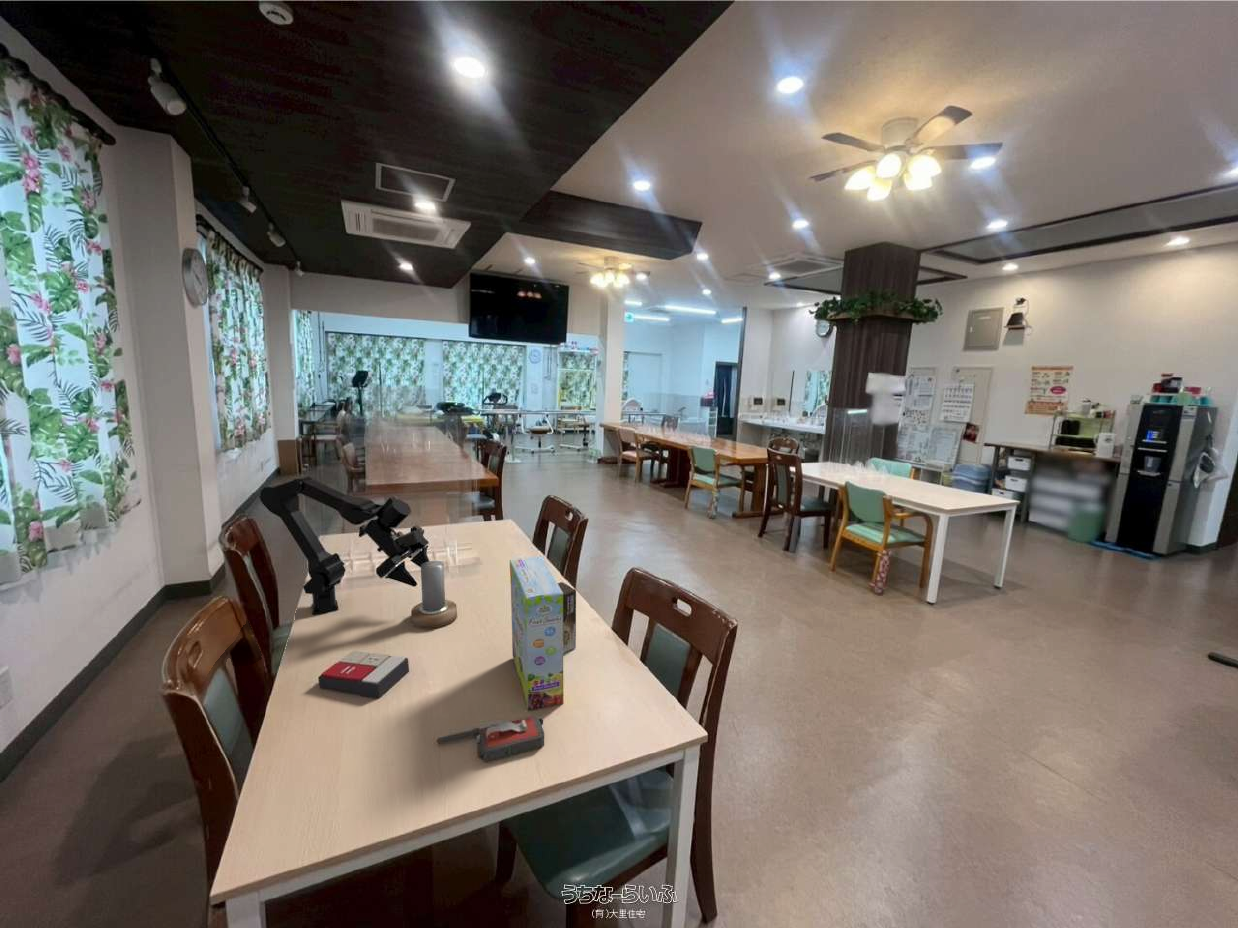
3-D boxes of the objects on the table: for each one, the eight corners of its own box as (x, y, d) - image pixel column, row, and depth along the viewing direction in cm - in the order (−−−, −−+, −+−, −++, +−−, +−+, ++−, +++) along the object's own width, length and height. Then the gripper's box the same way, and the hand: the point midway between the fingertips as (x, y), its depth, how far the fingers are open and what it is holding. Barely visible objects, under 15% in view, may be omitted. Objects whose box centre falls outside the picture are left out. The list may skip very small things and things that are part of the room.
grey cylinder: (413, 610, 143) (411, 565, 141) (435, 600, 149) (434, 557, 147) (431, 617, 139) (430, 572, 137) (454, 607, 145) (452, 563, 143)
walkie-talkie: (539, 719, 105) (436, 743, 98) (539, 699, 105) (435, 722, 97) (551, 748, 97) (439, 777, 90) (551, 727, 97) (438, 755, 89)
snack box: (508, 657, 126) (508, 558, 122) (543, 651, 129) (544, 554, 125) (524, 712, 106) (524, 596, 102) (565, 704, 109) (567, 591, 105)
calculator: (352, 648, 122) (408, 654, 119) (354, 664, 123) (410, 671, 120) (316, 674, 112) (376, 681, 109) (318, 692, 113) (378, 700, 109)
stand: (407, 614, 146) (407, 604, 146) (450, 605, 153) (450, 596, 152) (416, 633, 137) (416, 622, 136) (462, 622, 143) (461, 612, 142)
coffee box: (561, 638, 136) (562, 581, 133) (576, 648, 132) (577, 589, 129) (532, 649, 130) (532, 590, 127) (546, 661, 126) (547, 599, 123)
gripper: (385, 529, 131) (426, 574, 132) (421, 510, 150) (458, 549, 150) (357, 556, 134) (399, 599, 134) (397, 534, 152) (433, 572, 153)
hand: (424, 578), depth 143 cm, fingers open, 9 cm apart
